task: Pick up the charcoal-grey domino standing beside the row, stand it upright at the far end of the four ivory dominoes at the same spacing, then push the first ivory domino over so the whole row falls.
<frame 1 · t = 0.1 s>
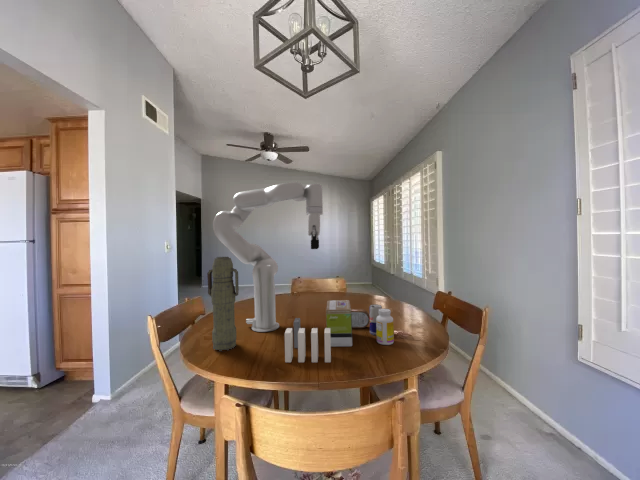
hand: (315, 248, 130), 37 cm above the table, tool pointing down, fingers open, 9 cm apart
energy drink: (376, 333, 122), on the table
supplement bottle: (385, 342, 112), on the table
domino 1: (289, 359, 98), on the table
tea box: (339, 340, 116), on the table
domino 3: (314, 359, 98), on the table
domino 4: (327, 359, 98), on the table
thermos: (224, 347, 110), on the table
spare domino: (297, 345, 110), on the table
domino 2: (302, 359, 98), on the table
tin: (353, 328, 130), on the table
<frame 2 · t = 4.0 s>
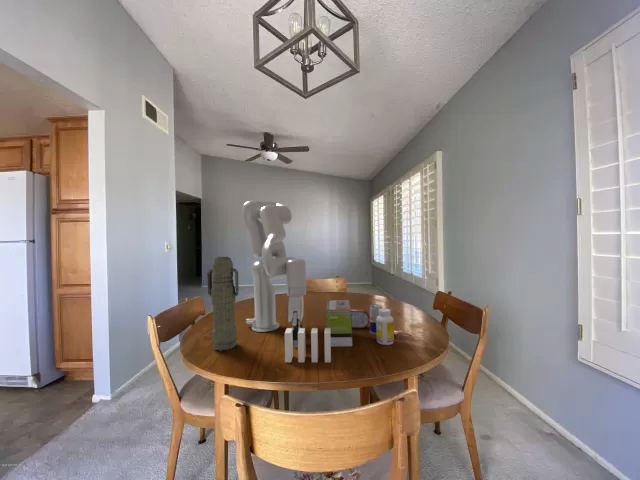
hand: (297, 336, 110), 3 cm above the table, tool pointing down, fingers closed on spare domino, 4 cm apart
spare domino: (297, 345, 110), on the table, touching gripper
everything else where it was.
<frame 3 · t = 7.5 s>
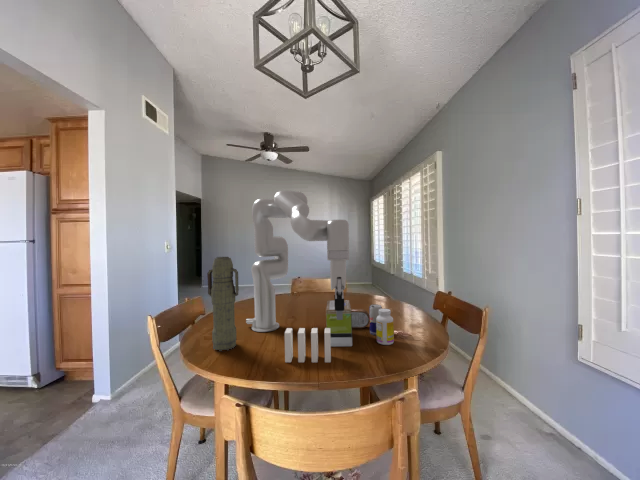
hand: (339, 307, 97), 18 cm above the table, tool pointing down, fingers closed on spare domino, 4 cm apart
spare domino: (339, 317, 98), point 14 cm above the table, touching gripper
everything else where it was.
when the fingers open (4 cm above the table, at t = 11.1 s): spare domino stays where it is, on the table.
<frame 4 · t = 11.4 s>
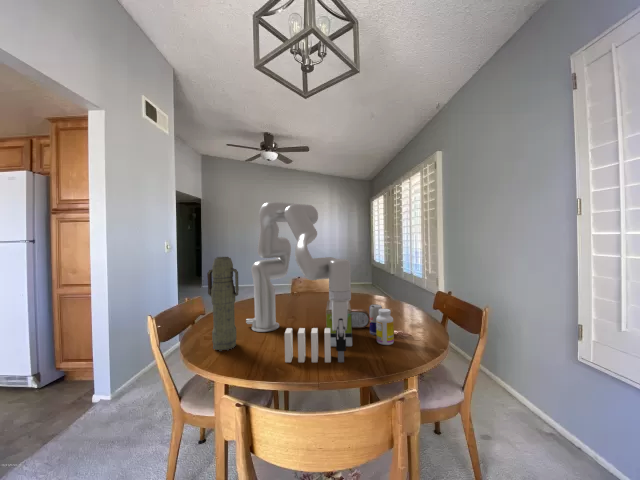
hand: (340, 345, 98), 5 cm above the table, tool pointing down, fingers open, 7 cm apart
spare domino: (340, 359, 98), on the table
everything else where it was.
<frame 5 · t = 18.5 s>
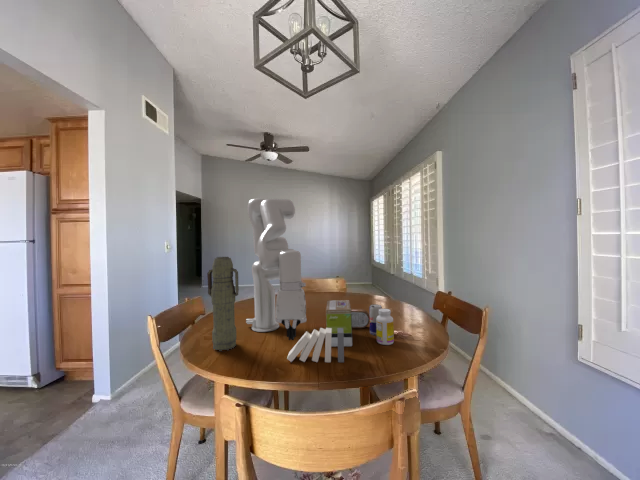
hand: (291, 338, 98), 7 cm above the table, tool pointing down, fingers closed
domino 1: (290, 357, 98), point 1 cm above the table, tilted 40°
domino 3: (315, 358, 98), on the table, tilted 17°
domino 2: (302, 357, 98), on the table, tilted 30°
everything else where it was.
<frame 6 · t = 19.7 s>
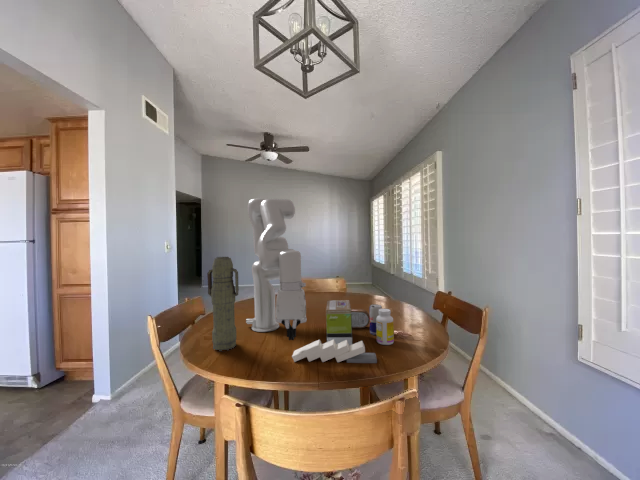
hand: (291, 338, 98), 7 cm above the table, tool pointing down, fingers closed
domino 1: (294, 356, 98), point 1 cm above the table, tilted 65°, touching domino 2
domino 3: (321, 356, 98), point 1 cm above the table, tilted 66°, touching domino 2
domino 4: (336, 356, 97), point 1 cm above the table, tilted 67°
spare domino: (346, 358, 97), on the table, tilted 90°
domino 2: (308, 356, 98), point 1 cm above the table, tilted 65°, touching domino 1, domino 3
everything else where it was.
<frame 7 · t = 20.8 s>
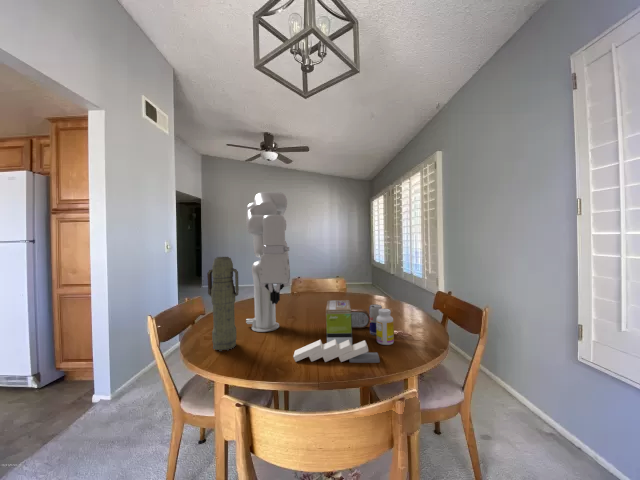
hand: (275, 302, 99), 20 cm above the table, tool pointing down, fingers closed
domino 4: (339, 356, 98), point 1 cm above the table, tilted 67°, touching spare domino
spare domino: (349, 358, 98), on the table, tilted 90°, touching domino 4
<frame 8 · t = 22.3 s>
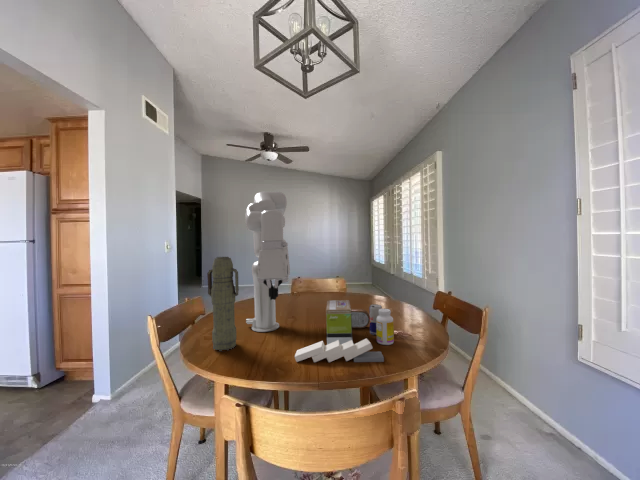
hand: (273, 298, 98), 21 cm above the table, tool pointing down, fingers closed
domino 3: (327, 356, 98), point 1 cm above the table, tilted 67°, touching domino 2
domino 4: (343, 355, 98), point 1 cm above the table, tilted 68°, touching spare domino
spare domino: (353, 357, 98), on the table, tilted 90°, touching domino 4
domino 2: (313, 356, 98), point 1 cm above the table, tilted 67°, touching domino 1, domino 3
at the end: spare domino tilted 90°; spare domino inside the target area (3.4 cm from its centre), on the table; domino 3 tilted 68° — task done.
